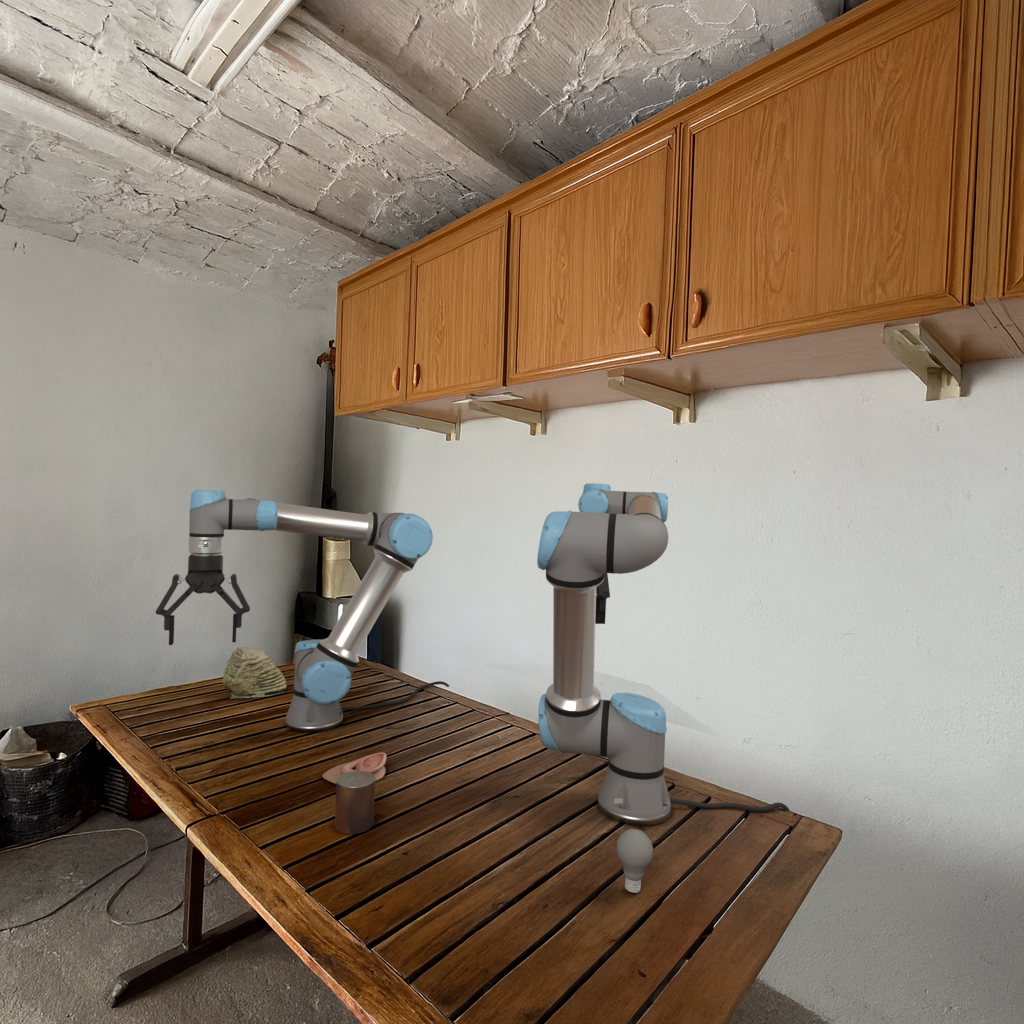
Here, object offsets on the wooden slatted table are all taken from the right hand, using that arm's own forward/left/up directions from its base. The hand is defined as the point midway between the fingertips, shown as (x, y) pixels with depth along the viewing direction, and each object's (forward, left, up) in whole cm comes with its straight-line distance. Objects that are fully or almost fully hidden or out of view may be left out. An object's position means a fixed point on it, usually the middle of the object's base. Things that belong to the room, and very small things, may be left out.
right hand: (591, 618), depth 172 cm
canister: (+60, +38, -33) cm, 78 cm away
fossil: (+94, -46, -33) cm, 109 cm away
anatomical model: (+60, +16, -33) cm, 71 cm away
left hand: (+98, 0, -6) cm, 98 cm away
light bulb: (+13, +65, -33) cm, 75 cm away
